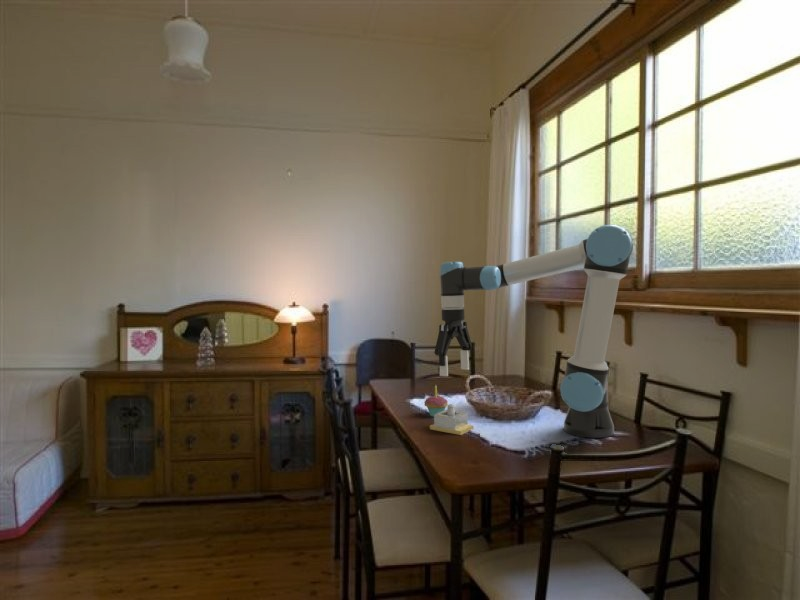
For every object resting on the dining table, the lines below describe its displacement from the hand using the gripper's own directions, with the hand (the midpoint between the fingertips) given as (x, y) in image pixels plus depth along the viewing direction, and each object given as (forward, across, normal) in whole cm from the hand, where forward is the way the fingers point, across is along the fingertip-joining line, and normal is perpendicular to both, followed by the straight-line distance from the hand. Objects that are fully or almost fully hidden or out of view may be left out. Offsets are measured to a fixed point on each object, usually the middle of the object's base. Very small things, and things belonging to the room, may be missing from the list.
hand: (454, 372), depth 167 cm
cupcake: (+19, -11, -15) cm, 27 cm away
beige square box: (+18, +1, -2) cm, 18 cm away
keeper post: (+19, +1, -1) cm, 19 cm away
